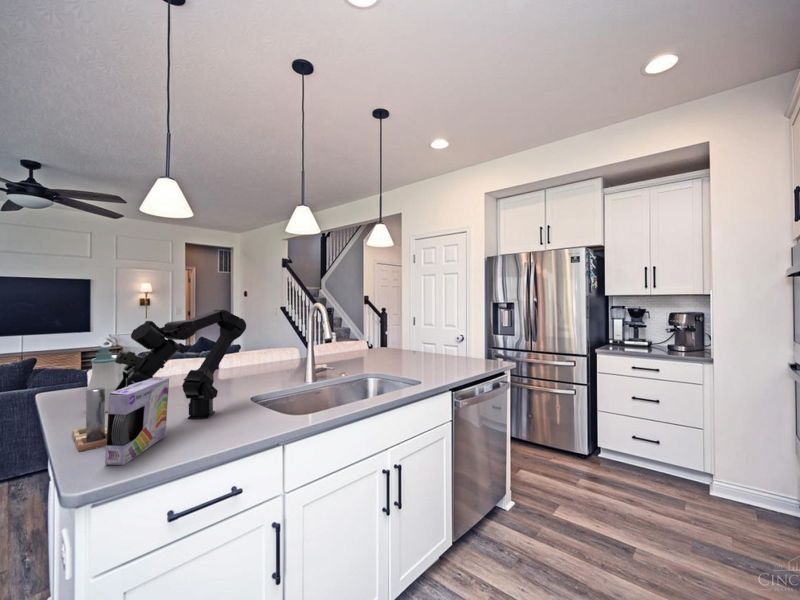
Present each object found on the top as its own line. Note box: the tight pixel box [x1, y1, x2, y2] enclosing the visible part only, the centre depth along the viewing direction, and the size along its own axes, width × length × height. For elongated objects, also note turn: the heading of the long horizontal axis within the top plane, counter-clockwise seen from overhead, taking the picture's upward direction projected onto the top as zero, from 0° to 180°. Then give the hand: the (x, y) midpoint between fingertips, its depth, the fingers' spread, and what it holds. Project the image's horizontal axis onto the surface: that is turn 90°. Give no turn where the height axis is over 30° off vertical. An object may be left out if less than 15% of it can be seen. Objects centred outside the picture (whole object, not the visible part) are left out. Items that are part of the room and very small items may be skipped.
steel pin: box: [85, 388, 106, 443], centre depth 101 cm, size 4×4×15 cm
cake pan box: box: [104, 376, 170, 466], centre depth 95 cm, size 19×5×18 cm, turn 4°
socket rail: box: [72, 424, 107, 452], centre depth 104 cm, size 18×8×2 cm, turn 46°
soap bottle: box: [87, 346, 119, 413], centre depth 133 cm, size 10×10×23 cm
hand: (113, 400), depth 104 cm, fingers open, 9 cm apart
